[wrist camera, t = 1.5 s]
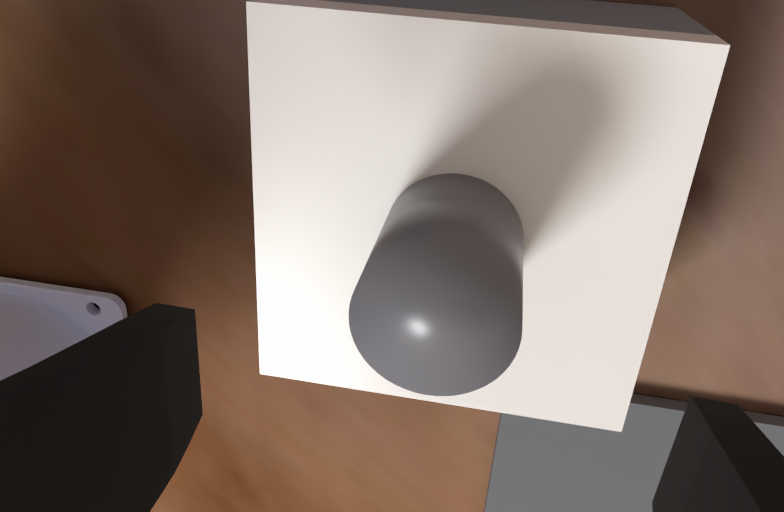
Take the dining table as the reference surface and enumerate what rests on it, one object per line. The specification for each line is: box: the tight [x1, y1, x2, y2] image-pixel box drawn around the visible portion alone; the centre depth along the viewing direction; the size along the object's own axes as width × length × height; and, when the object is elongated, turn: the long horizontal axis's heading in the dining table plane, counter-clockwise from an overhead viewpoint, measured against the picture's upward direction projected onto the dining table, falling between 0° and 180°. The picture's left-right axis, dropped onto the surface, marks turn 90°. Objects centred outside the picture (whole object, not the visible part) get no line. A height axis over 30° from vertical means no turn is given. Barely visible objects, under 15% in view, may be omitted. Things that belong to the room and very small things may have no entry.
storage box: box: [321, 0, 717, 36], centre depth 18 cm, size 9×9×4 cm
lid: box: [246, 0, 730, 432], centre depth 14 cm, size 9×9×5 cm
